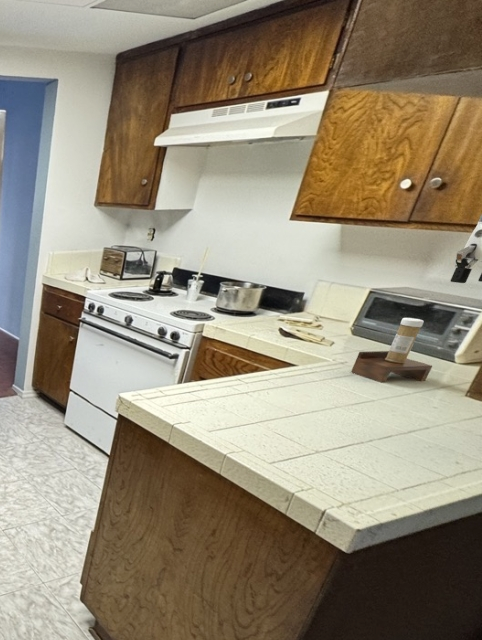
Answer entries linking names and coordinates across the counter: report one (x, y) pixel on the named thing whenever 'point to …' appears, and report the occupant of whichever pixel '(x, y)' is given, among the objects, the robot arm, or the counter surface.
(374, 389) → the counter surface
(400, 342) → the sprinkles bottle
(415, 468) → the counter surface
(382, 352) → the shelf
